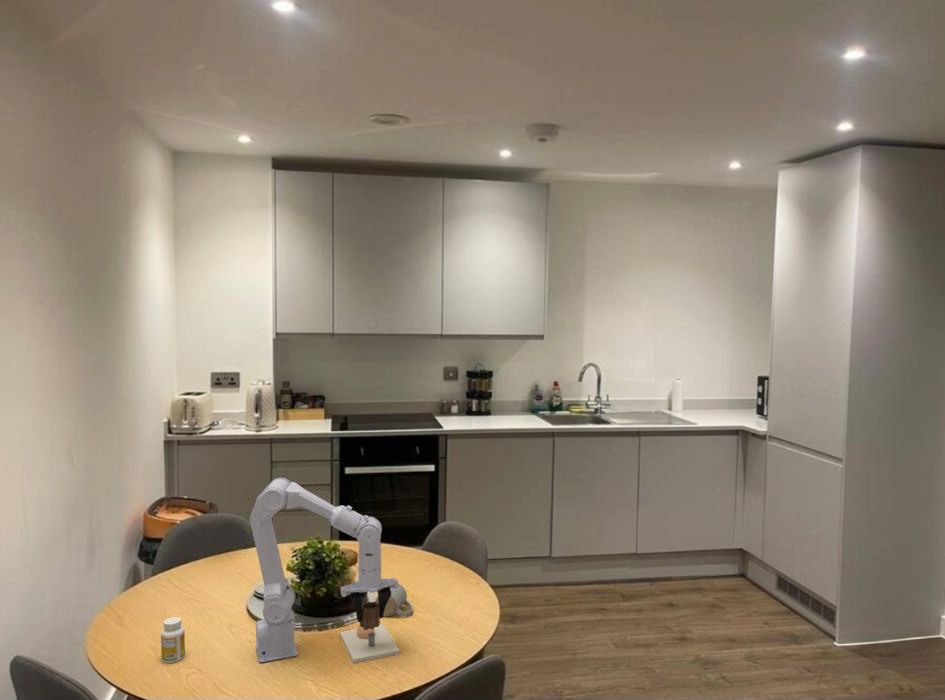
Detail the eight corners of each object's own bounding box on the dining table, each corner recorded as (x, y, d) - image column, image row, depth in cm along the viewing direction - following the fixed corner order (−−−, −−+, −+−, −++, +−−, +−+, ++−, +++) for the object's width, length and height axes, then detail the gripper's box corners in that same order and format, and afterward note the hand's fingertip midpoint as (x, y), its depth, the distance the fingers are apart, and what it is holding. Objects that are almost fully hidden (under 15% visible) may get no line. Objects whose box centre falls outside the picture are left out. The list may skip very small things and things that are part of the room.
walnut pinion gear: (362, 630, 173) (362, 611, 173) (358, 622, 178) (357, 603, 177) (382, 627, 175) (382, 608, 175) (376, 618, 180) (376, 600, 179)
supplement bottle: (178, 650, 176) (177, 613, 175) (189, 657, 172) (188, 619, 172) (157, 658, 172) (156, 620, 171) (168, 666, 168) (167, 627, 167)
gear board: (353, 663, 170) (353, 647, 170) (340, 635, 184) (339, 621, 184) (399, 653, 175) (399, 638, 175) (383, 627, 189) (383, 613, 189)
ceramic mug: (373, 616, 196) (373, 591, 195) (383, 604, 203) (384, 580, 203) (406, 621, 193) (407, 596, 192) (416, 609, 201) (416, 584, 200)
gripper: (345, 577, 169) (345, 630, 170) (401, 568, 174) (401, 620, 175) (338, 566, 175) (339, 618, 176) (393, 558, 181) (393, 608, 182)
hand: (369, 618), depth 176 cm, fingers closed on walnut pinion gear, 5 cm apart
